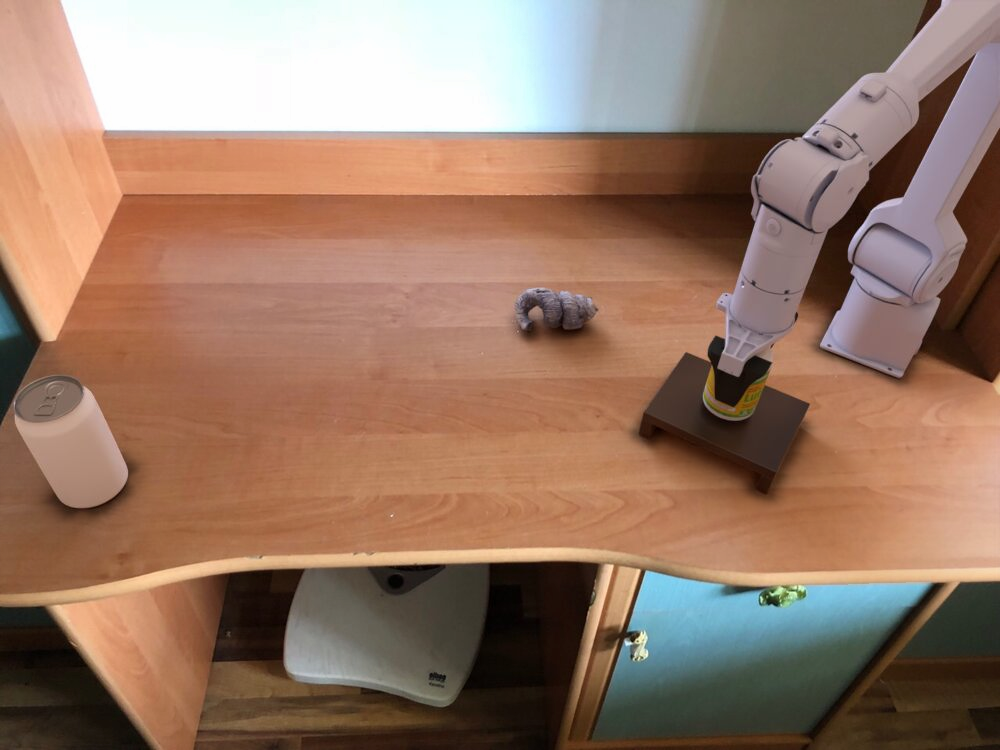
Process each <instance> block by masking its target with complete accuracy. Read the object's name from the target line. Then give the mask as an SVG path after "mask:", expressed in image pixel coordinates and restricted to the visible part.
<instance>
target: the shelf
mask: <svg viewBox="0 0 1000 750" xmlns="http://www.w3.org/2000/svg"><path fill="white" fill-rule="evenodd" d="M711 366H712V364H711V362H710V360H706V359H704V358H703V357H699V356H697V355H695V354H693V353H689V352H688V351H685V352H684V353H683V355H682V357H681V358H680V360H678V362H677V363H676V365H675V367H674V368H673V369H672V371H671V372H670V373H669V375H668V376H667V378H666V379H665V380H664V382H663V383H662V385H661V386H660V388H659V389H658V390H657V392H656V393H655V395H654V397H653V398H652V400H651V401H650V402H649V403H648V405H647V407H646V408H645V410H644V411H643V413H642V417H641V421H640V426H639V428H638V429H639V430H638V435H639V436H641V437H643V438H645V439H650V438H651V436H652V435H653V433H654V432H655V430H656V429H657V427H658V428H660V429H662V430H664V431H666V432H668V433H670V434H673V435H674V436H676V437H679V438H681V439H683V440H685V441H687V442H690V443H692V444H694V445H697V446H698V447H701V448H703V449H705V450H707V451H710V452H712V453H713V454H716V455H718V456H721V457H722V458H725V459H727V460H729V461H731V462H733V463H735V464H737V465H739V466H741V467H744V468H746V469H749V470H750V471H753V472H755V473H756V474H760V477H759V479H758V480H757V484H756V486H755V490H756V491H759V492H761V493H763V494H765V495H767V494H768V493H769V490H770V488H771V487H772V484H773V482H774V480H775V478H776V476H777V474H778V472H779V471H780V468H781V466H782V464H783V463H784V460H785V458H786V456H787V454H788V452H789V450H790V448H791V446H792V444H793V442H794V441H795V439H796V436H797V434H798V431H799V430H800V427H801V425H802V423H803V421H804V419H805V416H806V414H807V412H808V410H809V408H810V405H811V403H809V402H807V401H805V400H802V399H799V398H797V397H795V396H793V395H791V394H788V393H785V392H784V391H781V390H778V389H776V388H773V387H772V386H768V385H766V384H765V386H764V388H763V391H762V393H761V396H760V399H759V401H758V404H757V406H756V409H755V411H754V412H753V414H752V415H751V416H750V417H748V418H746V419H743V420H738V421H732V420H726V419H723V418H720V417H718V416H716V415H714V414H713V413H711V412H710V411H709V410H708V409H707V407H706V406H705V404H704V401H703V392H704V388H705V385H706V382H707V379H708V376H709V373H710V369H711Z"/></svg>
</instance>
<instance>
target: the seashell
mask: <svg viewBox="0 0 1000 750" xmlns="http://www.w3.org/2000/svg"><path fill="white" fill-rule="evenodd" d="M536 307H538V308H539V309H541V313H542V315H543V318H542V321H543V324H544V325H545V326H546V327H548V328H552V329H557V328H558V327H560V326H562V327H563V329H564V330H565V331H566V330H567V331H568V330H577V329H581V328H582V327H583V325H585V324H587V323H588V322H590V321H591V320H592V319H593V318H594V317H595V315H596V314H597V312H599V310H600V309H599V308H598V307H597V306H596V305H595V303H594V301H593V298H592V296H587V297H586V296H585V295H584V294H583V293H579V294H575V295H574V294H573V293H572V292H571V291H568V290H564V289H563V290H561V291H558V292H556V291H554V290H553V289H551V288H548V287H542V286H541V287H540V286H539V287H534V288H532V287H530V288H527V289H525V290H524V291H523V292H522V293H521V294H520V295H519V296H518V297H517V299H516V301H515V302H514V310H515V317H516V321H517V323H518V324H519V326H520V329H521V331H529V332H530V331H532V328H533V326H534V325H535V322H534V320H532V319H531V318H530V317H529V313H530V312H531V311H532V310H533V309H534V308H536Z"/></svg>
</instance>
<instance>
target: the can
mask: <svg viewBox="0 0 1000 750" xmlns="http://www.w3.org/2000/svg"><path fill="white" fill-rule="evenodd" d="M12 410H13V414H14V424H15V427H16V429H17V431H18V433H19V435H20V436H21V438H22V440H23V442H24V443H25V445H26V446H27V448H28V450H29V451H30V453H31V455H32V457H33V459H34V460H35V462H36V464H37V465H38V467H39V468H40V470H41V472H42V474H43V475H44V477H45V479H46V480H47V482H48V485H49V486H50V487H51V489H52V490H53V492H54V493H55V495H56V497H57V498H58V500H59V501H60V502H61V503H62V504H63V505H64V506H67V507H70V508H75V509H91V508H95V507H98V506H101V505H104V504H105V503H108V502H109V501H111V500H112V499H114V498H115V497H116V496H117V495H118V494H119V493H120V492H121V491H122V490H123V488H124V486H125V485H126V483H127V481H128V477H129V470H128V465H127V464H126V463H127V462H126V461H125V458H124V457H123V455H122V453H121V451H120V449H119V446H118V444H117V442H116V439H115V438H114V436H113V432H112V431H111V428H110V426H109V424H108V422H107V420H106V418H105V416H104V414H103V412H102V410H101V408H100V406H99V403H98V402H97V400H96V397H95V396H94V394H93V392H92V391H91V390H90V389H88V388H87V387H86V386H84V384H83V383H82V381H81V380H80V379H79V378H77V377H76V376H73V375H69V374H52V375H46V376H42V377H39V378H38V379H35V380H33V381H31V382H29V383H28V384H26V385H24V387H23V388H21V389H20V391H18V393H16V395H15V397H14V399H13V402H12Z"/></svg>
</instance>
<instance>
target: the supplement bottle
mask: <svg viewBox="0 0 1000 750" xmlns="http://www.w3.org/2000/svg"><path fill="white" fill-rule="evenodd" d="M723 338H724V339H725V337H723ZM755 356H758V357H760V358H763V359H765V360H768V361H770V362H772V364H771V366H770V368H769V370H768V371H767V373H766V374H765V375H764V376H763V377H762V378H760V379H758V380H756V381H755V382H754V383H752V384H751V385H750V386H749V388H748V389H747V390H746V392H745V393H744V395H743V397H742V398H741V400H740V401H739V403H738V404H737V405H736V406H735V407H731V406H729V405H727V404H724V403H722V402H720V401H717V400H715V394H714V370H713V367H712V366H711V369H710V373H709V376H708V379H707V382H706V385H705V388H704V392H703V401H704V404H705V406H706V407H707V409H708V410H709V411H710V412H711V413H713V414H714V415H716V416H718V417H720V418H723V419H726V420H732V421H738V420H743V419H746V418H748V417H750V416H751V415H752V414H753V412H754V411H755V409H756V406H757V404H758V401H759V399H760V396H761V393H762V391H763V388H764V386H765V385H766V383H767V381H768V377H769V375H770V372H771V369H772V368H773V364H774V353H773V350H772V348H771V346H769V347H768V348H766V349H764V350H763V351H761V352H759V353H758V354H756V355H755Z"/></svg>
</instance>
